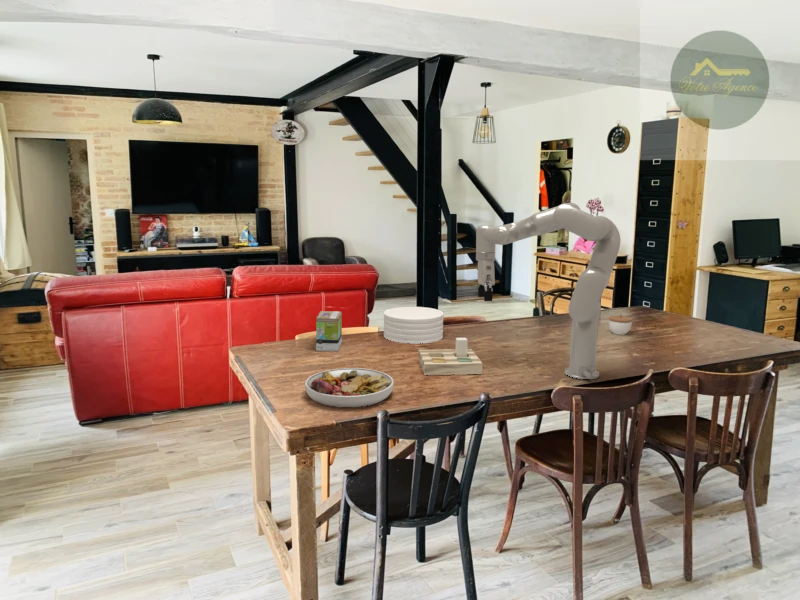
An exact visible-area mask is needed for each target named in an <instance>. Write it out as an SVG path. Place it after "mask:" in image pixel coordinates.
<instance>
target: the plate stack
mask: <svg viewBox="0 0 800 600" xmlns="http://www.w3.org/2000/svg"><path fill="white" fill-rule="evenodd" d="M443 332H444V312H443V311H442V310H439V309H437V308H432V307H426V306H425V307H424V306H400V307H392V308H388V309H386V310H384V311H383V338H384V337H385V338H384V339H385V340H387V339H388V341H390V340H391V341H390V342H393V341H394V342H393V343H398V342H399V343H400V344H407V343H410V344H412V345H415V344H417V345H420V343H421V345H422V343H423V344H431V343H436V342H438V341H441V340H442V339H443V337H444V334H443Z"/></svg>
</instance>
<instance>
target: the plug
mask: <svg viewBox="0 0 800 600" xmlns="http://www.w3.org/2000/svg"><path fill="white" fill-rule="evenodd" d="M468 344H469V343H468V339H467V337H455V357H467V349H468Z"/></svg>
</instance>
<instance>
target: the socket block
mask: <svg viewBox="0 0 800 600" xmlns="http://www.w3.org/2000/svg"><path fill="white" fill-rule="evenodd" d="M419 362H420V363H419ZM418 363H419V366H420V365H421V366H420V367H422V368H421V371H422V370H423V371H422V373H423V372H424V373H423V376H424V375H442V374H446V375H447V374H448V375H449V374H482V375H483V362H482V360H481V359H480V358H479V356H477V354H476V353H475V351H474V350H473V349H472V348H467V357H455V349H449V348H448V349H446V348H445V349H418Z"/></svg>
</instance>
